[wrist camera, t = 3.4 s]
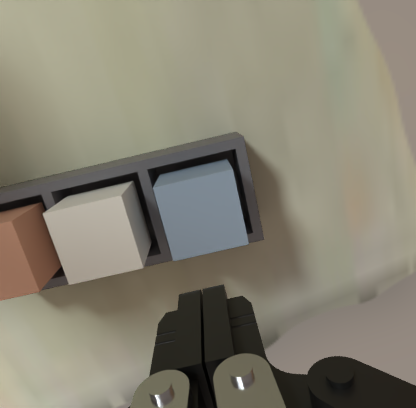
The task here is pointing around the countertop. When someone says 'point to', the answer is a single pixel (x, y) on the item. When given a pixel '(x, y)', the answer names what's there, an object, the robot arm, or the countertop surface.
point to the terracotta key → (25, 251)
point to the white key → (99, 232)
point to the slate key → (200, 210)
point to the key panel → (144, 187)
